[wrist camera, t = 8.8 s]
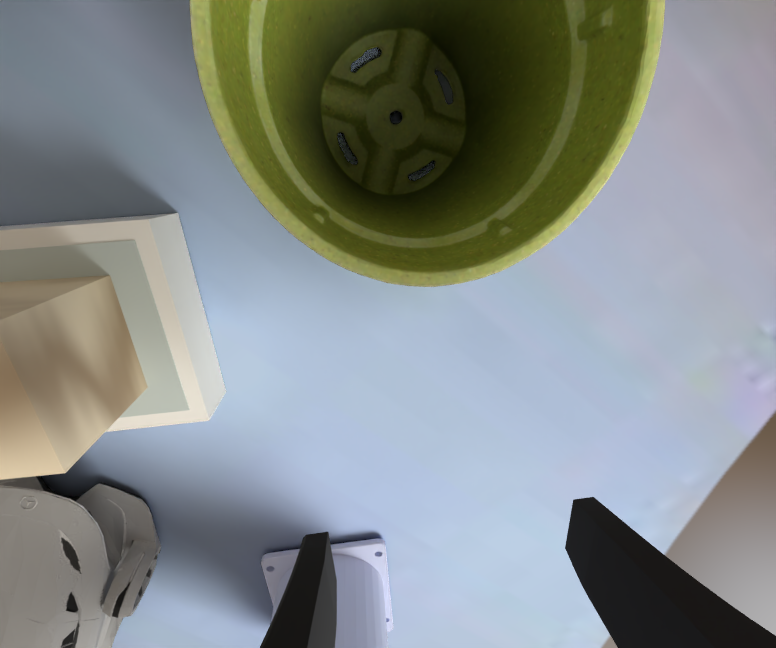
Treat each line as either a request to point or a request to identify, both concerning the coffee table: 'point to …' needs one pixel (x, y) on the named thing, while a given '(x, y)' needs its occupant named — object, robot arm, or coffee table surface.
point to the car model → (71, 563)
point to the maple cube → (61, 371)
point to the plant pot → (426, 121)
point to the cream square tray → (134, 303)
